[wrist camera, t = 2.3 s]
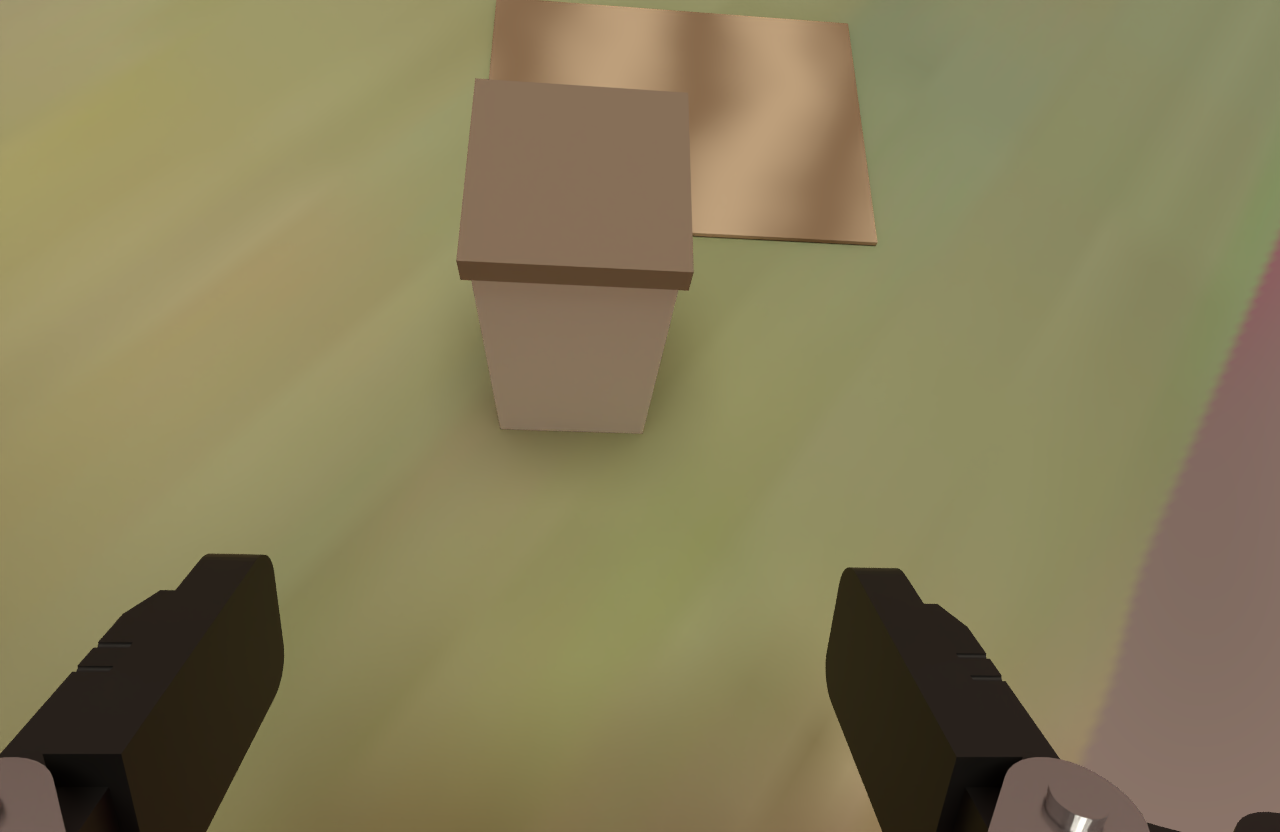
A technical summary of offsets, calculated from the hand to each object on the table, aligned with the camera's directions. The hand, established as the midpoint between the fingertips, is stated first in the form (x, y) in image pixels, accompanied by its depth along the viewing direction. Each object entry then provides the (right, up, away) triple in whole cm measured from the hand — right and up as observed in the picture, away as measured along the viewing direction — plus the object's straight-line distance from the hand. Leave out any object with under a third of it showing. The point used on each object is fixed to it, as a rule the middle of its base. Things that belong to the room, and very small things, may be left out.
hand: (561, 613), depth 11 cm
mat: (+3, +16, +23) cm, 28 cm away
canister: (-1, +5, +18) cm, 18 cm away
